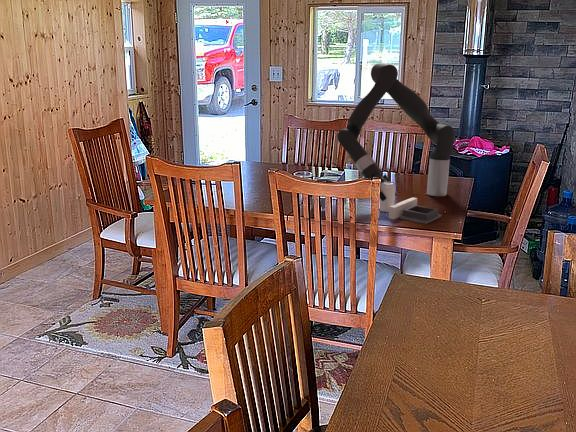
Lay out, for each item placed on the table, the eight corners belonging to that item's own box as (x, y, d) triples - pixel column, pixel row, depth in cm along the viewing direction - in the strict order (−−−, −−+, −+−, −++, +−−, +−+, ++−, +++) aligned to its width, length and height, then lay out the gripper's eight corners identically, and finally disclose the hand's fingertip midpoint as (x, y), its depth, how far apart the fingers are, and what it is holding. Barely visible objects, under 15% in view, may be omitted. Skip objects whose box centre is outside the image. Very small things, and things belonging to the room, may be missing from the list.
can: (393, 212, 242) (395, 185, 238) (378, 211, 243) (379, 184, 240) (394, 208, 248) (395, 181, 244) (378, 207, 249) (380, 180, 246)
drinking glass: (336, 208, 248) (337, 180, 244) (327, 213, 239) (328, 185, 236) (315, 204, 252) (316, 178, 249) (305, 210, 244) (306, 182, 240)
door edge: (411, 208, 249) (412, 197, 247) (416, 209, 247) (417, 198, 246) (388, 218, 234) (389, 206, 232) (393, 219, 232) (394, 207, 231)
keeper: (415, 211, 245) (415, 203, 244) (441, 216, 237) (442, 208, 236) (399, 218, 234) (399, 210, 233) (426, 224, 227) (426, 216, 226)
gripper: (364, 164, 239) (387, 196, 235) (382, 160, 250) (403, 190, 246) (353, 175, 244) (375, 206, 240) (370, 170, 254) (392, 199, 251)
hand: (389, 198), depth 243 cm, fingers open, 8 cm apart
